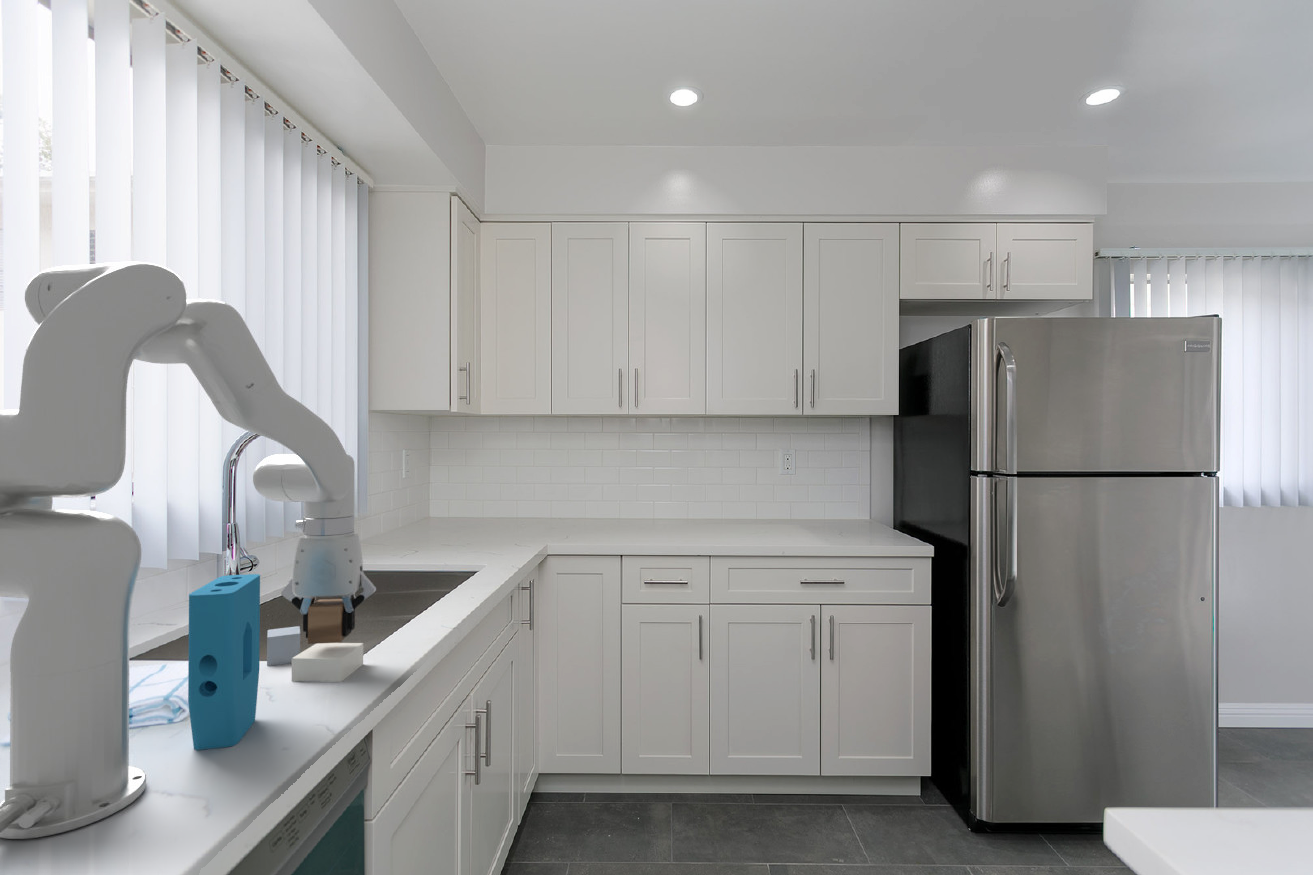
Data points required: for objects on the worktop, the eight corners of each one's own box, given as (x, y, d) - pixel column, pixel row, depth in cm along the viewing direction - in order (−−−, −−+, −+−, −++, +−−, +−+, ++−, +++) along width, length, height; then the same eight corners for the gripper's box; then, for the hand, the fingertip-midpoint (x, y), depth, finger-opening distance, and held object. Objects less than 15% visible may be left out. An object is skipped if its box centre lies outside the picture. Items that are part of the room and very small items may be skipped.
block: (231, 752, 82) (232, 593, 82) (185, 757, 81) (186, 595, 81) (260, 713, 94) (261, 573, 94) (221, 716, 92) (222, 575, 92)
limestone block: (340, 683, 106) (340, 658, 106) (291, 682, 106) (291, 658, 106) (363, 666, 114) (363, 643, 114) (317, 665, 114) (317, 642, 114)
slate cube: (299, 661, 115) (300, 633, 115) (266, 666, 113) (267, 637, 113) (299, 653, 120) (299, 625, 120) (267, 657, 117) (267, 629, 117)
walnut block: (340, 642, 108) (340, 606, 108) (307, 643, 107) (308, 607, 107) (349, 633, 113) (349, 598, 113) (318, 634, 112) (318, 599, 112)
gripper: (265, 531, 105) (264, 644, 105) (377, 529, 108) (376, 639, 108) (284, 524, 112) (283, 630, 112) (388, 523, 115) (387, 626, 115)
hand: (329, 633), depth 110 cm, fingers closed on walnut block, 5 cm apart
